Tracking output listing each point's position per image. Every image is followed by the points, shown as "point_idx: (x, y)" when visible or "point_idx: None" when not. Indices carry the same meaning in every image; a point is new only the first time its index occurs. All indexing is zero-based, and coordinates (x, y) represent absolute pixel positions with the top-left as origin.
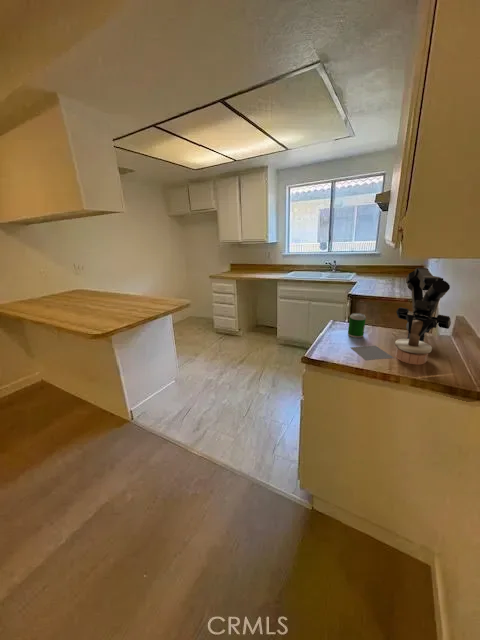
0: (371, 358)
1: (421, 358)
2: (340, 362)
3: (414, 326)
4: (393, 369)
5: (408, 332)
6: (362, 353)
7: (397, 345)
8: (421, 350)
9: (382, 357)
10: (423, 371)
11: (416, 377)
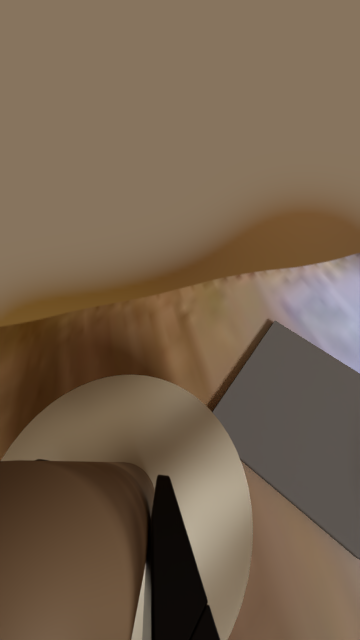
0: (268, 348)
1: None
2: (318, 271)
3: (88, 465)
4: (172, 324)
5: (166, 475)
6: (322, 373)
7: (207, 407)
8: (59, 416)
9: (242, 390)
10: (69, 380)
11: (93, 315)
